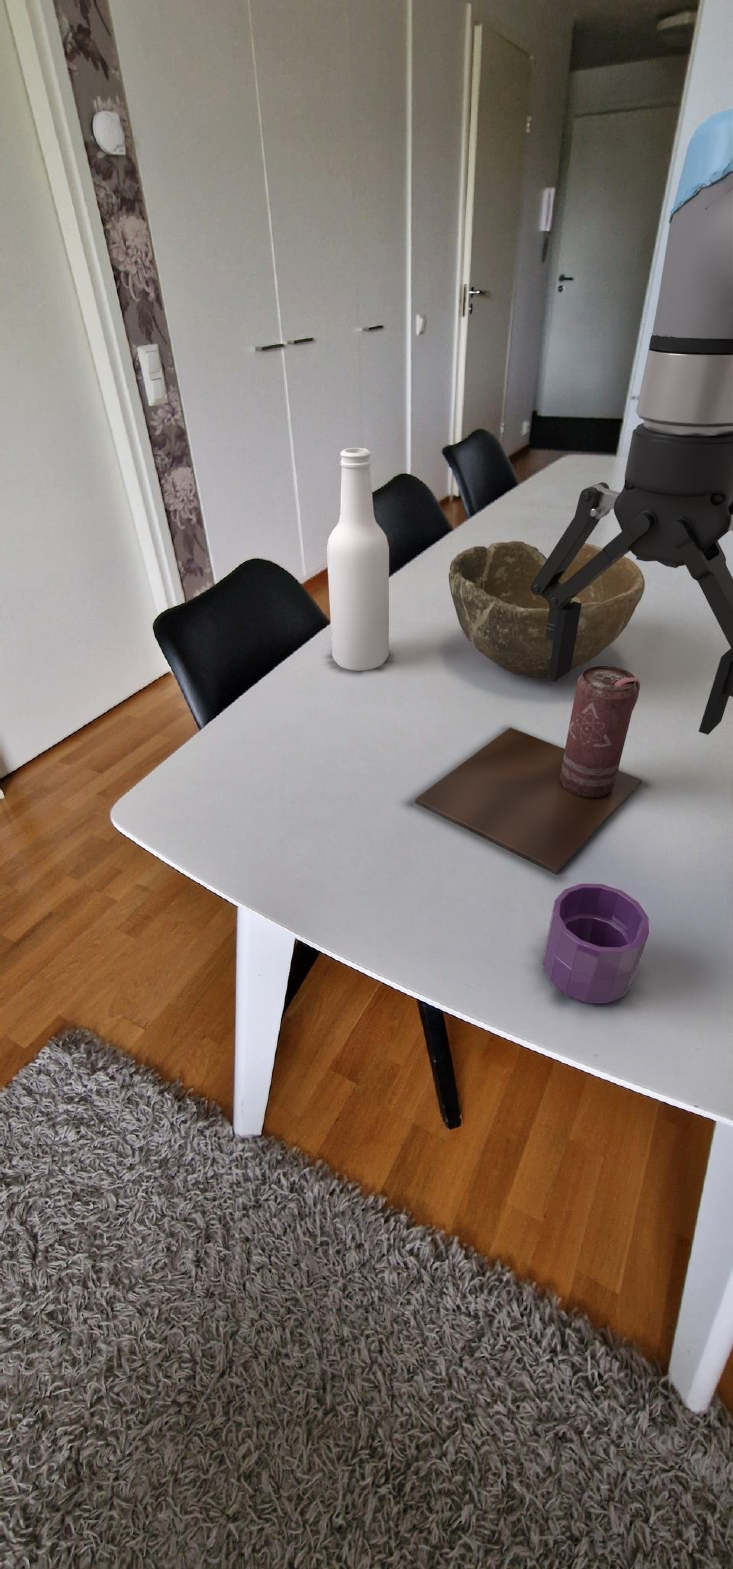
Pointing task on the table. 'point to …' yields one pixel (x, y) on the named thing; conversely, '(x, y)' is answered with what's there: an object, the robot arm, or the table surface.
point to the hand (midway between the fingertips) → (629, 699)
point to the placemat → (523, 800)
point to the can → (598, 730)
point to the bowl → (536, 605)
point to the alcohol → (358, 571)
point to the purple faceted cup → (595, 942)
